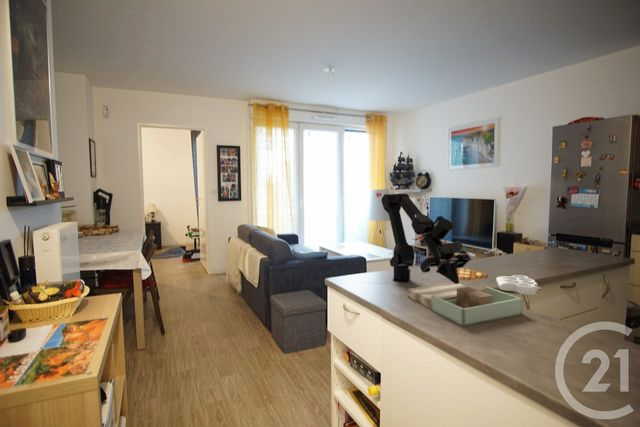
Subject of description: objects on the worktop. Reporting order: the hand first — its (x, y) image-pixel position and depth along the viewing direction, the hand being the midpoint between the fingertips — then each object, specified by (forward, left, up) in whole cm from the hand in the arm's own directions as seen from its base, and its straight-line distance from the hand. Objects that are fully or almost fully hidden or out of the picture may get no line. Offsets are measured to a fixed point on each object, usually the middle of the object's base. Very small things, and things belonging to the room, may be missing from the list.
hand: (457, 283), depth 114 cm
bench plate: (-4, +4, -7) cm, 10 cm away
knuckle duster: (+22, +29, -8) cm, 37 cm away
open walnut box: (+2, -2, -4) cm, 5 cm away
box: (+6, -6, -7) cm, 11 cm away
